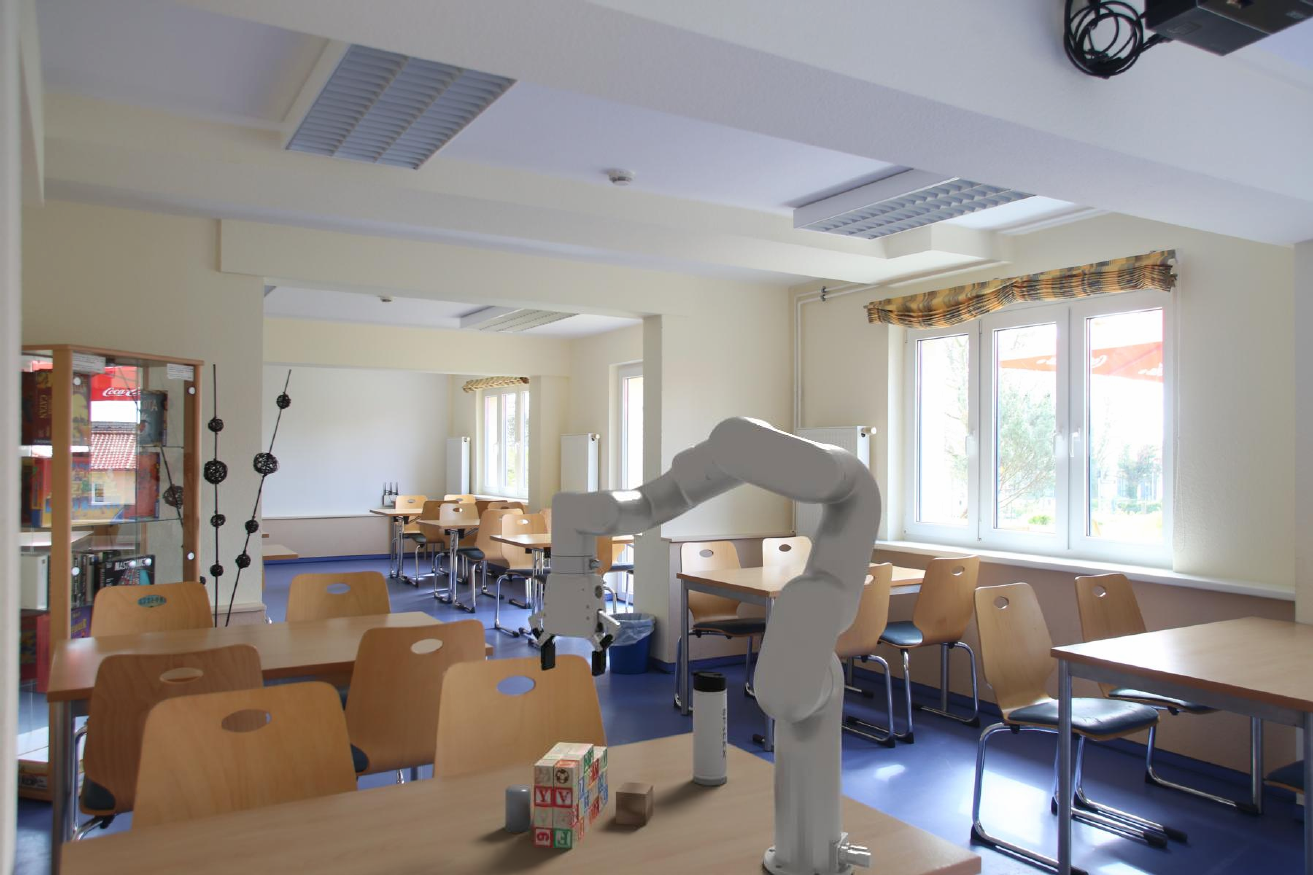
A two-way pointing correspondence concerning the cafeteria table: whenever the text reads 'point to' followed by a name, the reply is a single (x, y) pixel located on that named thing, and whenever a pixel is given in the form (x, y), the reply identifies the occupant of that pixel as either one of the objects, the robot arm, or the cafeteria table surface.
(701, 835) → the cafeteria table surface
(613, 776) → the cafeteria table surface
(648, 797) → the walnut cube
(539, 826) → the stack of blocks
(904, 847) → the cafeteria table surface
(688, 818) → the cafeteria table surface
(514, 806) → the dark grey cylinder
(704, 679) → the travel mug
